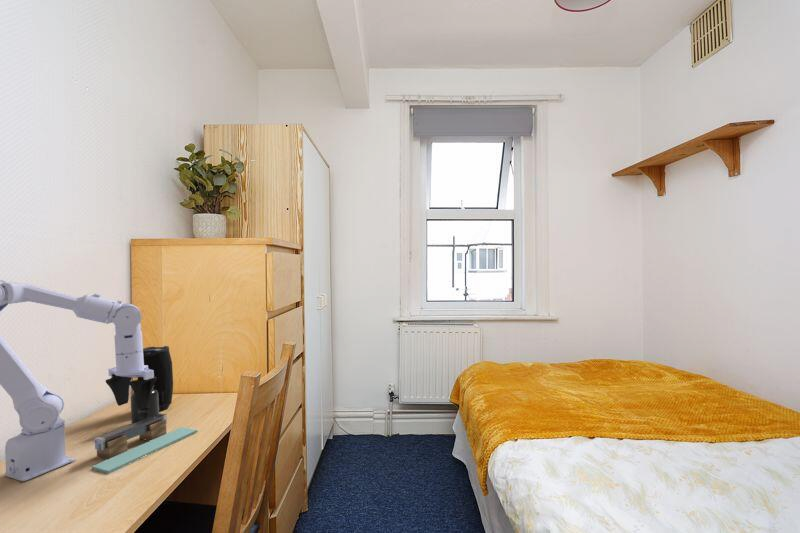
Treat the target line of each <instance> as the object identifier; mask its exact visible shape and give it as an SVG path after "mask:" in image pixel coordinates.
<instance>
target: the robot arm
mask: <svg viewBox="0 0 800 533" xmlns="http://www.w3.org/2000/svg"><path fill="white" fill-rule="evenodd" d="M101 296H102V295H101V294H98V293H93V295H92V294H89V293H88V294H87V293H86V294H85V295H82V296H79V297H77V296H74V295H70V294H66V293H63V292H58V291H55V290H51V289H48V288H44V287H40V286H37V285H33V284H28V283H22V282H21V283H19V282H13V281H5V280H2V279H0V313H1V312H2V311H3V310H4V309H5V308H6V307H7V306H8V305H10V304H12V305H13V304H18V303H26V302H28V303H29V302H30V303H36V304H40V305H46V306H49V307H55V308H59V309H64V310H70V311H72V312H73V313H74V315H75V316H76V317H77V318H79V319H84V320H89V321H92V322H93V321H94V322H97V323H101V324H105V325H106V324H107V325H108V324H113V325H114V326H115V327H114V331H115V335H114V350H115V351H114V352H115V367H110V368H108V369H107V370H108V377H110V378H107V379H105V383H106V385H108V387H109V388H110V390H111V392H112V394H113V396H114V399H115V402H116V404H117V406H118V407H119V406H123V405H126V404H128V403H129V398H130V397H129V396H130V387H131V389H132V391H133V392H132V393H134V395H135V400H136V405H137V408H139V409H140V408H143V407H145V406H147V405H148V401H149V396H150V392H151V389H152V387H153V385H154V383H155V381H156V380H157V379H156V377H154V370H150V369H148V365H144V358H143V349H144V345H143V344H144V343H143V332H142V324H141V321H142V319H143V316H142V314H141V310H140V308H139V307H137V306H136V305H134V304H131V303H130V302H129V303H123V302H124V301H123V300H120V299H119V300H117V301H115V300H112V299H109V298H105V297H101ZM132 378H134V380H132ZM0 387H2V388H3V389H4V390H5V392H6V393H7V394H8V395H9V397H10V398H11V399H12V403H13V404H12V405H13V408H14V410H15V411H16V413H17V414H18V417H19V421H18V422H19V426H20V427H21V428H22V429H21V431H20V433H19V434H18V435H16V436H13V437H11V438H8V439H7V440H6V443H5V448H4V451H5V452H4V453H5V454H4V456H5V472H4V474H3V475H4V476H5V477H8V478H11V479H13V480H17V481H20V482H26V481H29V480H30V479H33V478H36V477H38V476H41V475H43V474H46V473H48V472H51V471H52V470H55V469H58V468H61V467H63V466H65V465H67V464H70V463H73V462H74V461H76V459H75V458H74V457H70V456H67V455H66V432H65V429H66V428H65V427H66V426H65V420H64V419H63V418H62V417H61V416H60V414H61V413H62V412H63V410H64V408H65V402H64V398H62V396H60V395H59V394H57V393H54V392H52V391H50V390H49V388H47V386H46V385H44V384H42V383H40V382H39V381H38V380H37V378H36V377H35V375H34V374H33V373H32V372H31V371H30V370H29V368H28V367H27V366H26V365H25V363H24V361H23V360H21V358H20V357H19V355H17V353H16V352H15V351H14V349H13V348H12V347H11V346H10V344H9V343H8V342H7V341H6V339H5V338H4V337H3V336H2V335H1V334H0Z"/></svg>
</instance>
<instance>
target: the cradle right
mask: <svg viewBox="0 0 800 533" xmlns="http://www.w3.org/2000/svg"><path fill="white" fill-rule="evenodd" d="M165 434H167V424H166V420H162V421H160V422H157V423H155V424H152V425H150V426H149V431H148V432H145V433H143V434H141V435H138V436H139V439H140V438H141V439H140V440H142V439H146V440H145V441H147V440H153V439H156V438H158V437H160V436H163V435H165Z"/></svg>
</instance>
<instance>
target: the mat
mask: <svg viewBox="0 0 800 533" xmlns="http://www.w3.org/2000/svg"><path fill="white" fill-rule="evenodd" d="M196 433H198V429H195V428H189V427H188V428H187V427H182V426H181V427H178V428H176V429H174V430H172V431H170V432H166V434H165V435H163V436H160V437H158V438H156V439H153V440H151V441H147V442H145V443H142V444H140V445H137V446H135V447H133V448H131V449H129V450H128V449H127V451H126V452H124V453H121V454H119V455H117V456H114V457H112V458H110V459H108V460H107V459H104V460H103V461H101V462H98V463H97V464H94V465H91V470H93V469H94V471H97V470H98V472H101V471H102V472H101V473H104V472H105V473H104V474H108V473H109V474H111V473H113V472H116V471H118V470H120V469H122V468H124V467H126V466H128V465H130V464H129V463H131V464H133V463H135V462H136V461H135V460H137V459H139V460H141V459H142V458H141V457H143V456H145V455H148V454H150V453H152V452H154V451H156V450H158V451H160V450H162V449H164V447H165V448H166V446H167V447H168V445H169V446H170V445H173V444H176V443H177V442H180V441H181V440H184V439H186V438H188V437H190V436H192V435H194V434H196ZM161 448H162V449H161ZM159 449H160V450H159ZM156 452H157V451H156ZM154 453H155V452H154ZM152 454H153V453H152ZM150 455H151V454H150ZM148 456H149V455H148ZM145 457H146V456H145ZM140 458H141V459H140ZM143 458H144V457H143ZM134 461H135V462H134ZM137 461H138V460H137ZM132 462H133V463H132ZM123 466H124V467H123ZM121 467H122V468H121ZM119 468H120V469H119ZM117 469H118V470H117ZM115 470H116V471H115ZM110 472H111V473H110Z"/></svg>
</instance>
